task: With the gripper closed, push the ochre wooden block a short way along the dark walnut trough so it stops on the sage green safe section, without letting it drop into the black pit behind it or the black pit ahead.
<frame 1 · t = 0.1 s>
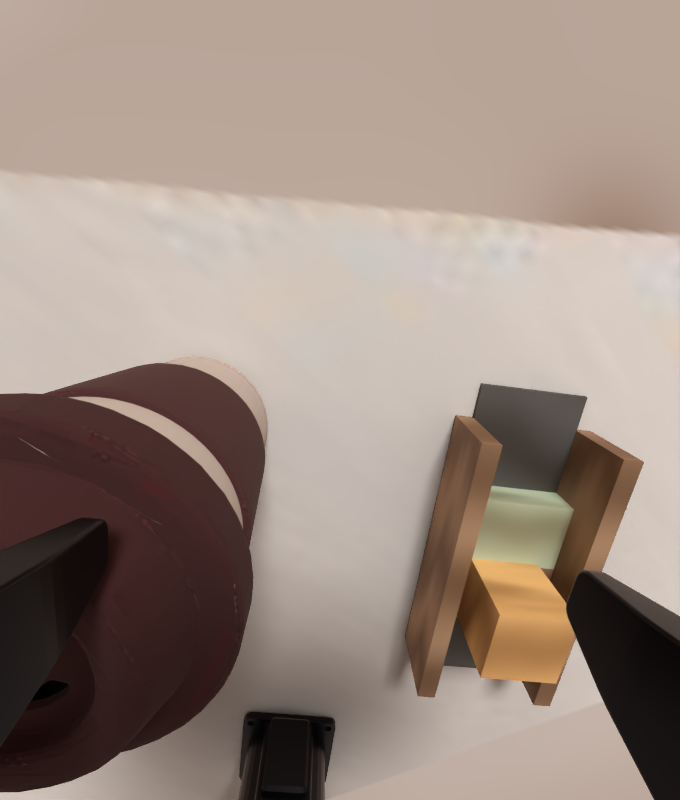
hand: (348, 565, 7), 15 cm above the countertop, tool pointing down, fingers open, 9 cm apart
coffee cup: (204, 418, 22), on the countertop
trough: (490, 542, 25), on the countertop
block: (496, 589, 23), point 2 cm above the countertop, touching trough
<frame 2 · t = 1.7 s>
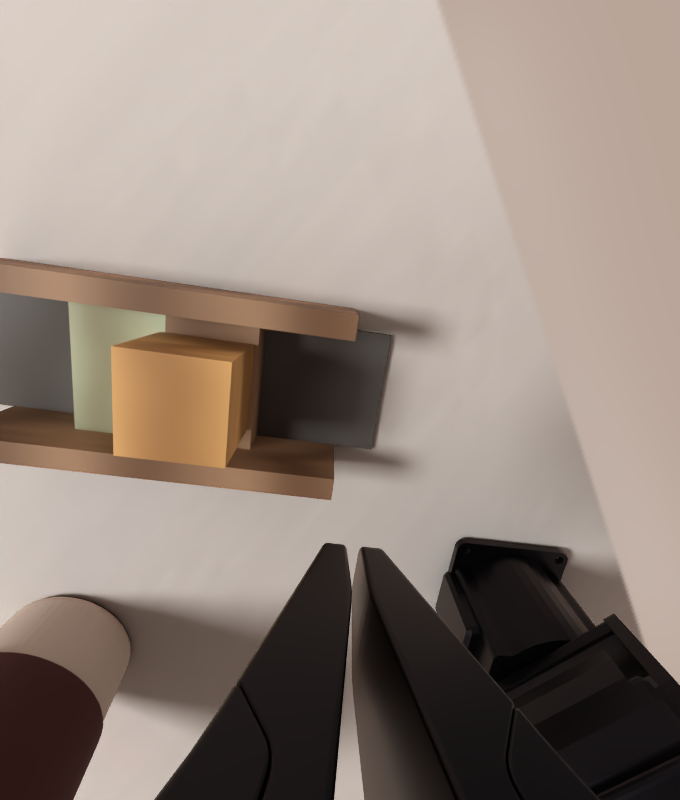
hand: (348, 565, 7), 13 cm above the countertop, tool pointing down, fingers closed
coffee cup: (75, 637, 24), on the countertop
trough: (180, 367, 19), on the countertop
block: (205, 382, 18), point 2 cm above the countertop, touching trough
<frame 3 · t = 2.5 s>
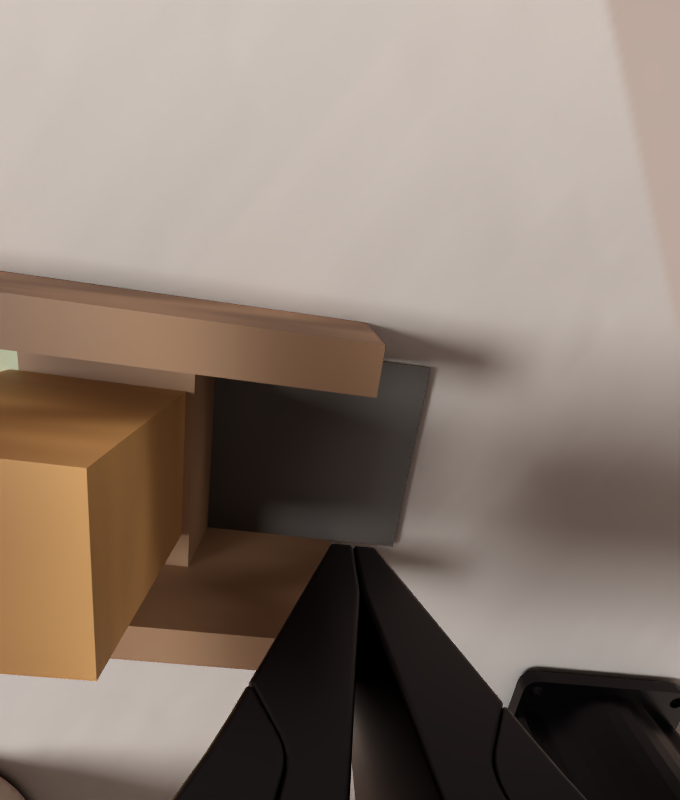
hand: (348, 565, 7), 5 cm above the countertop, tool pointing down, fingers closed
trough: (76, 421, 12), on the countertop
block: (101, 457, 10), point 2 cm above the countertop, touching trough
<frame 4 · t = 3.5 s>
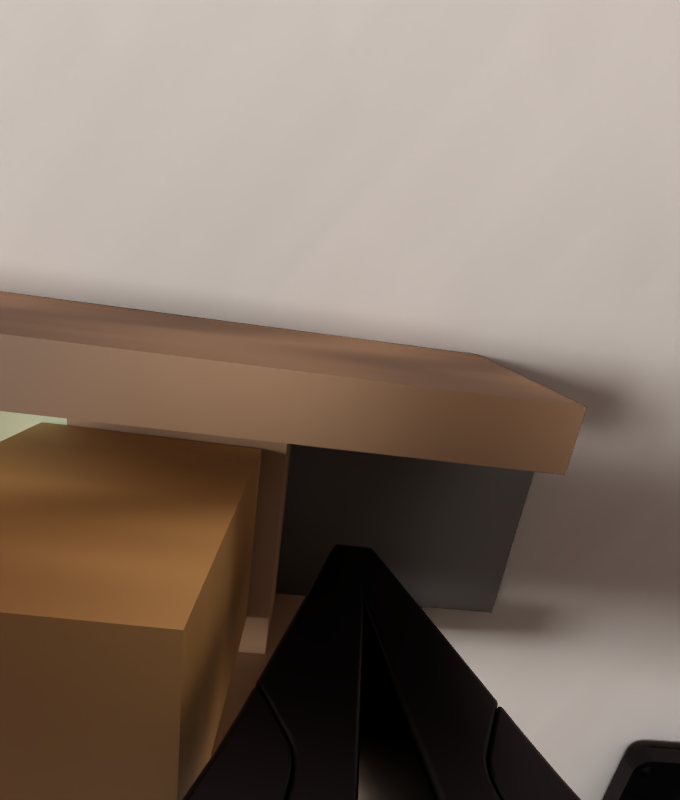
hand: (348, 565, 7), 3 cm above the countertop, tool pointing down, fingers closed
trough: (124, 473, 10), on the countertop
block: (152, 529, 8), point 2 cm above the countertop, touching gripper, trough
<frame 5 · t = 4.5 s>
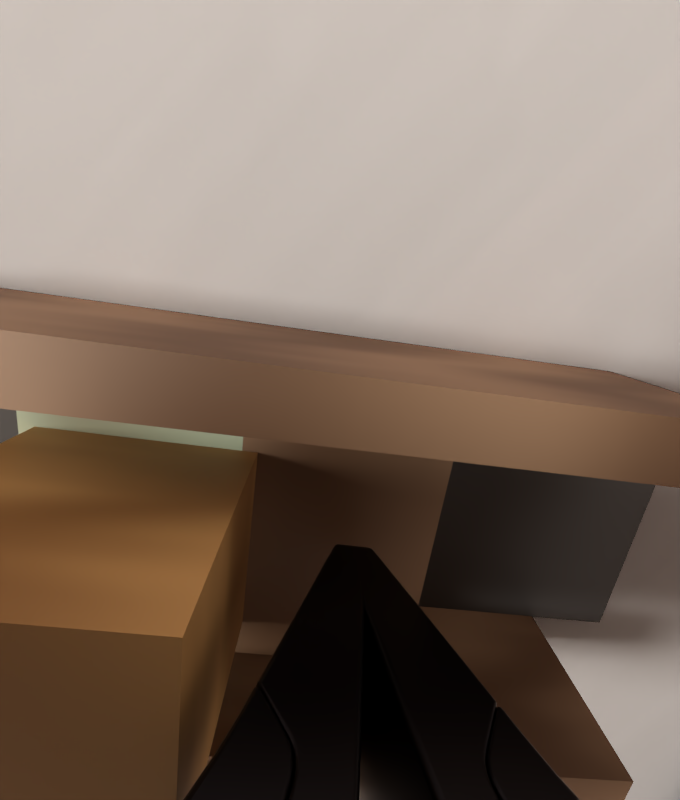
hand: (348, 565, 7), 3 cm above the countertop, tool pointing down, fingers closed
trough: (253, 486, 10), on the countertop
block: (147, 532, 8), point 2 cm above the countertop, touching gripper, trough
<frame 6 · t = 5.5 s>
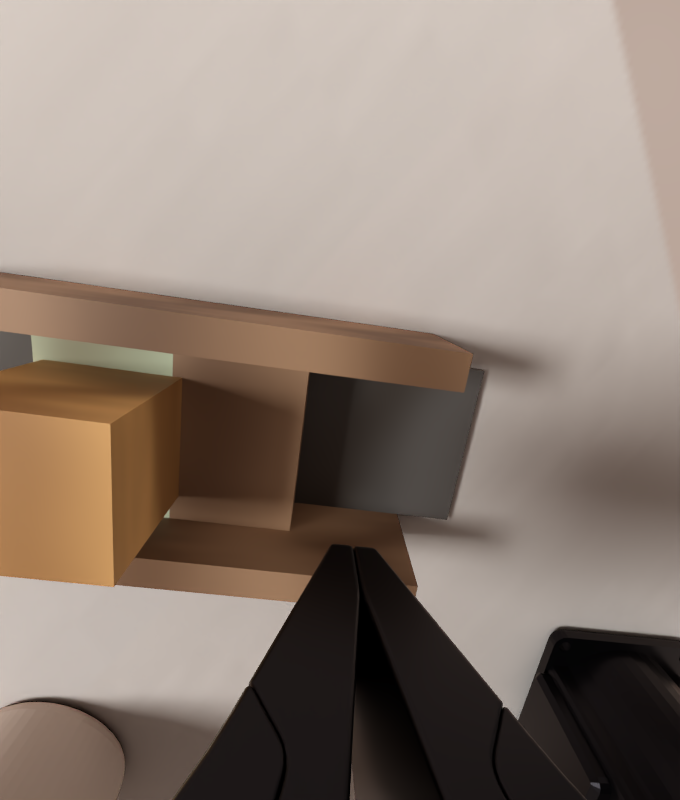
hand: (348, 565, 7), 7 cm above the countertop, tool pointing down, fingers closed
coffee cup: (55, 747, 19), on the countertop
trough: (192, 413, 14), on the countertop
block: (114, 431, 12), point 2 cm above the countertop, touching trough
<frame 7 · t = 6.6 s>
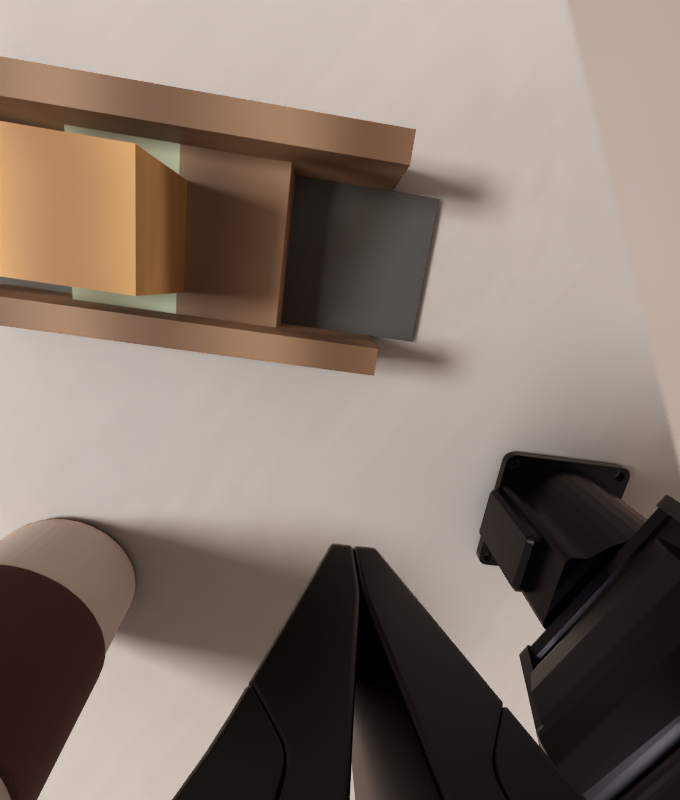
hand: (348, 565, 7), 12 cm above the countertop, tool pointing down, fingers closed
coffee cup: (74, 569, 22), on the countertop
trough: (195, 239, 17), on the countertop
block: (131, 230, 15), point 2 cm above the countertop, touching trough
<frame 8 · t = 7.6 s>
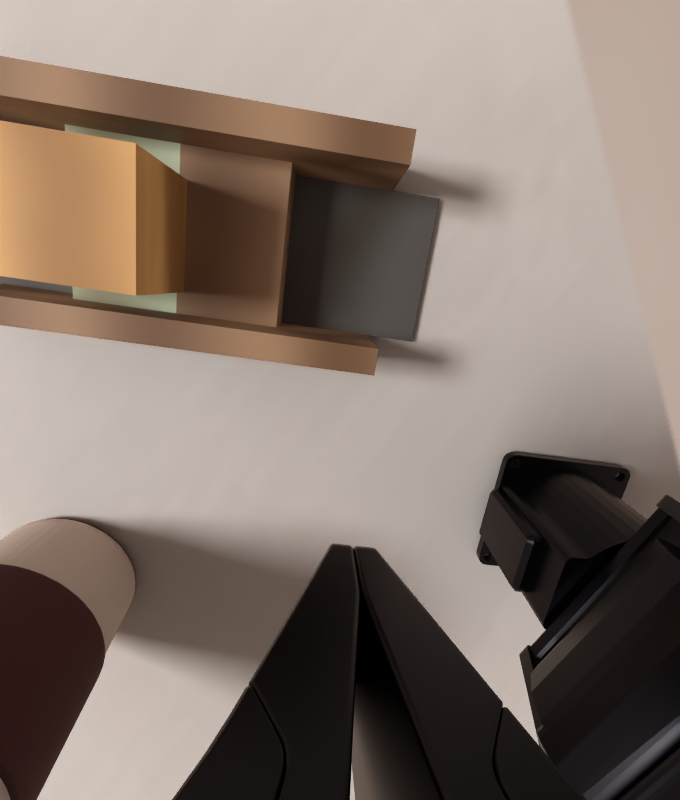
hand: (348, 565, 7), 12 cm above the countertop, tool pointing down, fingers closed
coffee cup: (74, 569, 22), on the countertop
trough: (195, 238, 17), on the countertop
block: (131, 229, 15), point 2 cm above the countertop, touching trough
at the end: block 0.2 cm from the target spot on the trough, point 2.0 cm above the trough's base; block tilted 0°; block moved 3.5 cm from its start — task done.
